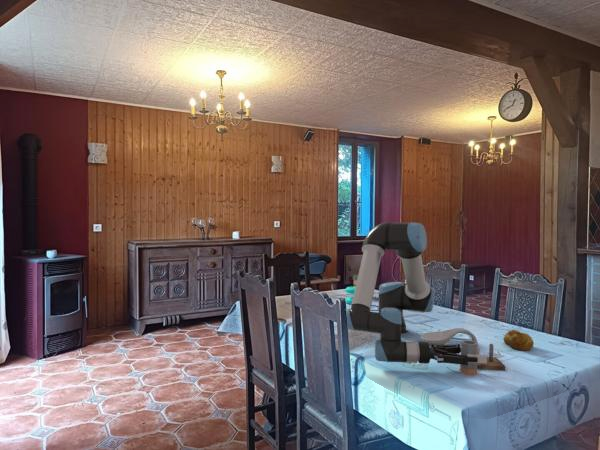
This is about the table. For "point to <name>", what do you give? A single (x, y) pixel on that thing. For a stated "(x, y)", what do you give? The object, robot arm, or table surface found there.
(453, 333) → the spoon rest
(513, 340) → the bread roll
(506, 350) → the table surface
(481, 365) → the pin board
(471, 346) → the sleeve
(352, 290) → the donuts
